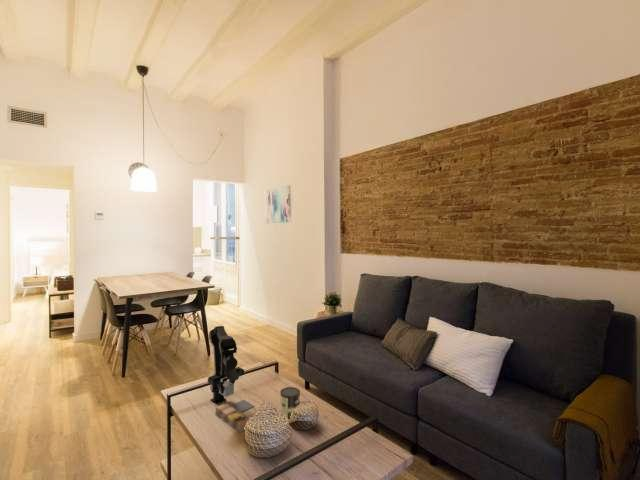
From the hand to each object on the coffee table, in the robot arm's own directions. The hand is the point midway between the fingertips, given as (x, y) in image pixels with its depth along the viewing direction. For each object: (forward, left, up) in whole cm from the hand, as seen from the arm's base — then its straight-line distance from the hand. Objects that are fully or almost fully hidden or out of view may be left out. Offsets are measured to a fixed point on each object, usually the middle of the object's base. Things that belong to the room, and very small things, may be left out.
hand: (226, 391), depth 179 cm
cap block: (0, 0, -1) cm, 1 cm away
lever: (+12, 0, -8) cm, 14 cm away
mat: (-2, +11, -13) cm, 17 cm away
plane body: (+6, 0, -13) cm, 14 cm away
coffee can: (+25, +22, -13) cm, 36 cm away
